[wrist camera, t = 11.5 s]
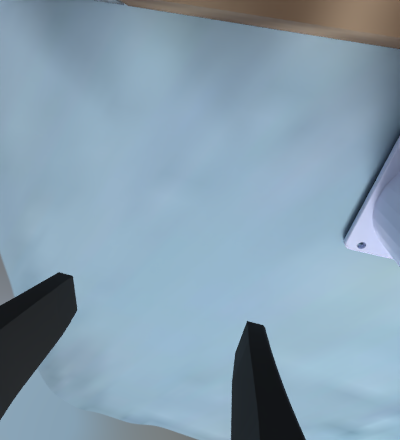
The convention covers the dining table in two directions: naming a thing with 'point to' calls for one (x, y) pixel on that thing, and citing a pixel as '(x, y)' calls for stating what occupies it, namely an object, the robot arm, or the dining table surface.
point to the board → (299, 16)
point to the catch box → (112, 1)
